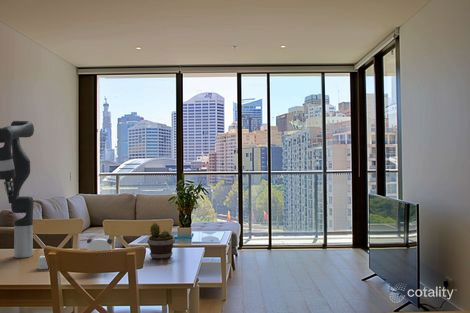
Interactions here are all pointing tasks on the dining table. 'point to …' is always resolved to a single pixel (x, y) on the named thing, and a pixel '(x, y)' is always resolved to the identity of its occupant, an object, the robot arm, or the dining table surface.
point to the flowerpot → (160, 243)
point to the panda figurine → (99, 244)
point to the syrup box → (42, 263)
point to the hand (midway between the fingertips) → (11, 202)
